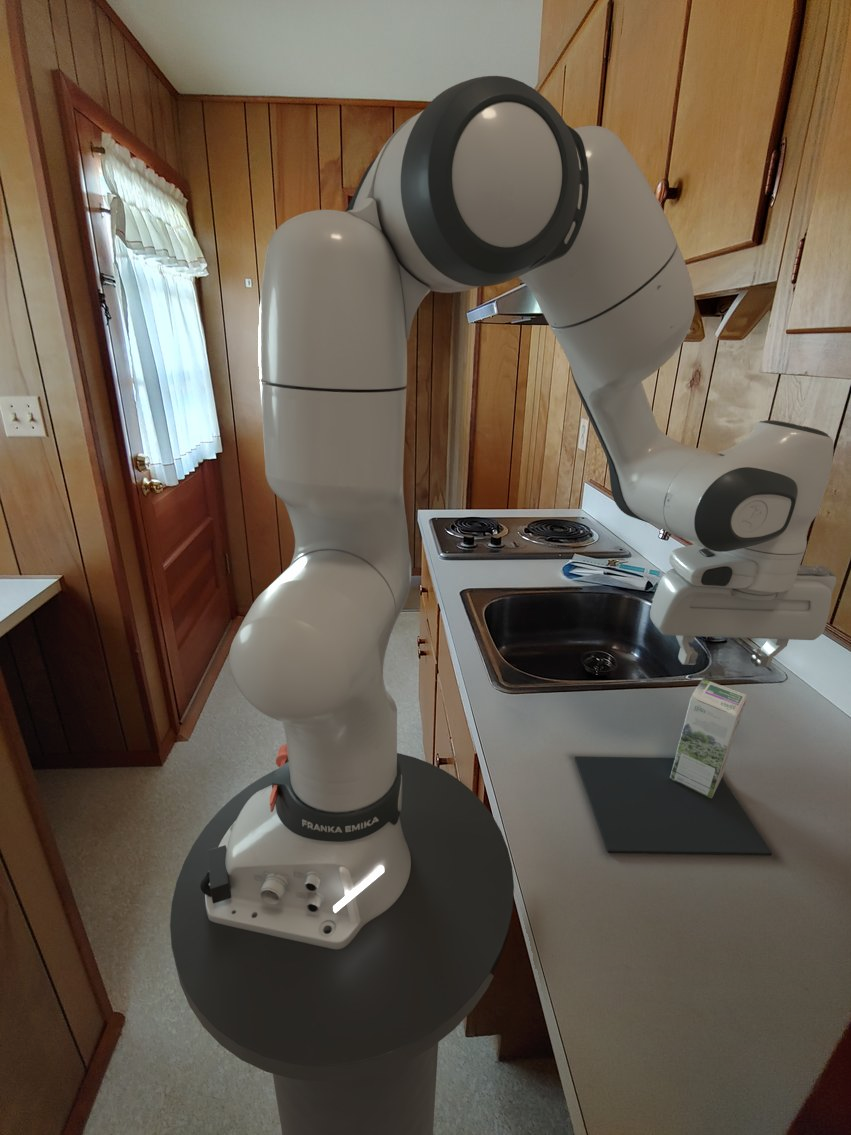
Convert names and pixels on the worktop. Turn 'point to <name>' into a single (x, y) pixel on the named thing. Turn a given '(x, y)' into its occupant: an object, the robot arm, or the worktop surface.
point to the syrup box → (707, 737)
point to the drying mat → (663, 810)
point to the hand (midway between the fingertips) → (722, 663)
